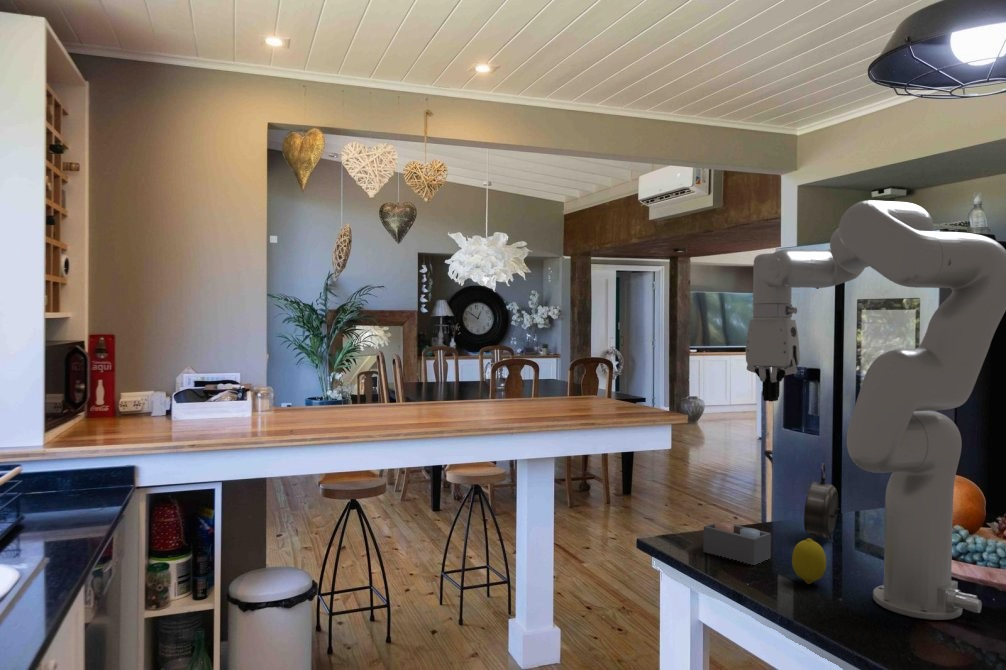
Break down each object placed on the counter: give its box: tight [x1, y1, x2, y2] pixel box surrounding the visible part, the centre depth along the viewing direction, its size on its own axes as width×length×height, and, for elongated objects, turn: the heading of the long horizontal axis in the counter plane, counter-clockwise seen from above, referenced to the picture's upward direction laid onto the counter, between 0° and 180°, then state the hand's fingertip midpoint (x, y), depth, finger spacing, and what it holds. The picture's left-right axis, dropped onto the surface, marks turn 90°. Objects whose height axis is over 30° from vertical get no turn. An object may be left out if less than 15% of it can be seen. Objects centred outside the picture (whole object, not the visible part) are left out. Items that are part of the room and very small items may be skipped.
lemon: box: [791, 537, 827, 585], centre depth 128 cm, size 6×6×8 cm
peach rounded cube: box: [715, 521, 735, 533], centre depth 145 cm, size 4×4×4 cm
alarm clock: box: [803, 462, 840, 543], centre depth 152 cm, size 11×5×16 cm, turn 144°
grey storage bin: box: [703, 520, 772, 566], centre depth 143 cm, size 11×6×5 cm, turn 41°
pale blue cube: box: [740, 527, 761, 538], centre depth 141 cm, size 4×4×4 cm
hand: (770, 400), depth 153 cm, fingers closed
